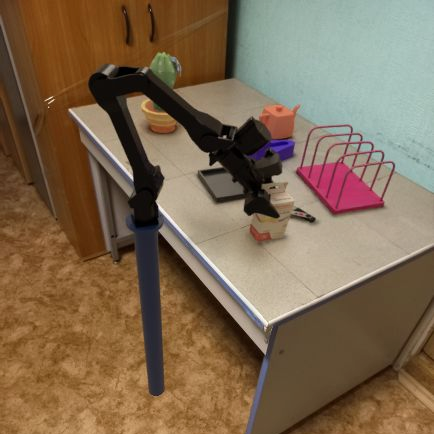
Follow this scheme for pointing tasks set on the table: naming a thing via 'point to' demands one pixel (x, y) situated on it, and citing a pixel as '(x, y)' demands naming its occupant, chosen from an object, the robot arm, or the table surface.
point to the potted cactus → (166, 71)
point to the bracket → (276, 149)
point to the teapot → (279, 120)
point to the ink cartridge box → (269, 226)
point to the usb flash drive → (301, 215)
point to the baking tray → (221, 185)
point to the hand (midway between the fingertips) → (279, 208)
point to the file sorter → (343, 178)
